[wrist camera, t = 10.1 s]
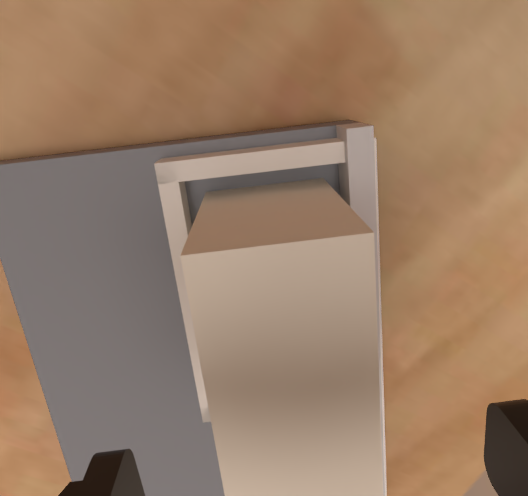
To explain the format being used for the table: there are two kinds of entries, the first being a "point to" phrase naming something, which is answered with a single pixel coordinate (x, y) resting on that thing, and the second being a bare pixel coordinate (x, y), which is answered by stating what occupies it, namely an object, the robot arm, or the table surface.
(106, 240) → the shelf deck
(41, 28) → the table surface
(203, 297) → the cream box
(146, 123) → the table surface
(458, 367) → the table surface
